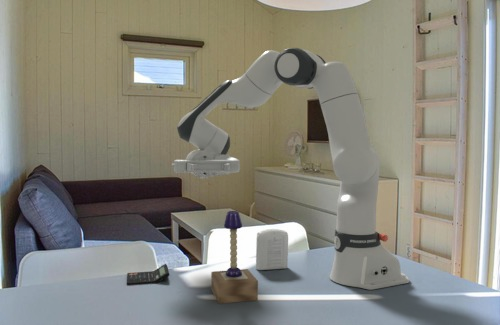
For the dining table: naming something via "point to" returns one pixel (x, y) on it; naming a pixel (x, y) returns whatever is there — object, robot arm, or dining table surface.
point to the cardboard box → (234, 287)
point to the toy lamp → (233, 241)
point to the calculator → (148, 276)
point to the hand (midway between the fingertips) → (211, 167)
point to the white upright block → (272, 249)
